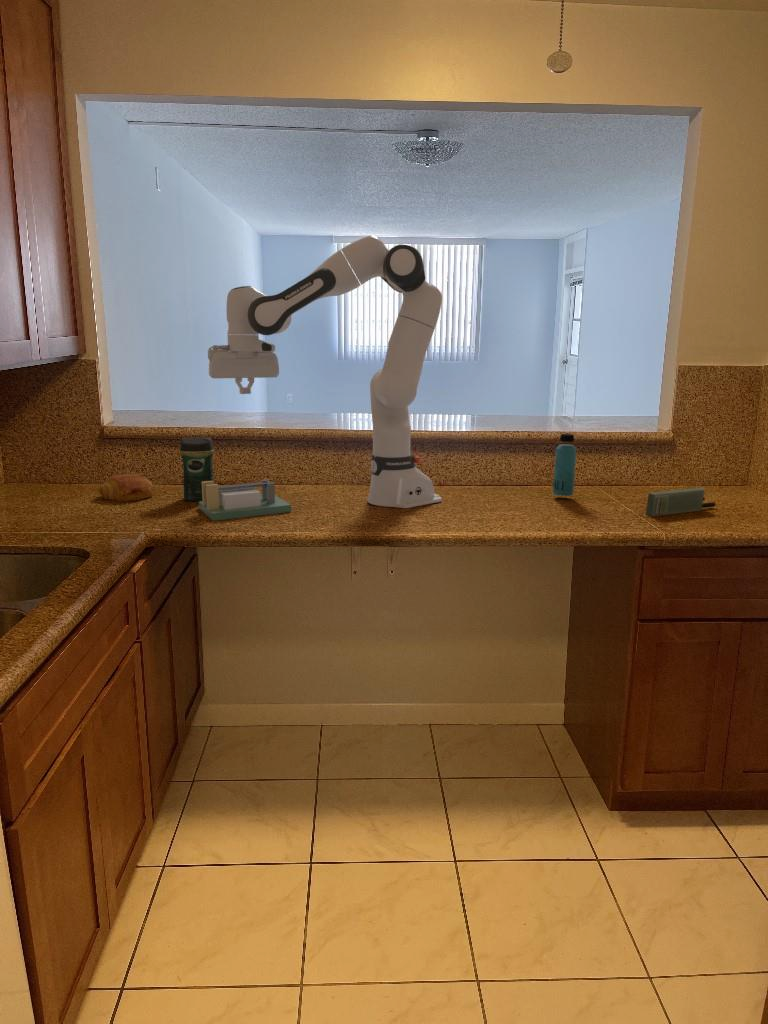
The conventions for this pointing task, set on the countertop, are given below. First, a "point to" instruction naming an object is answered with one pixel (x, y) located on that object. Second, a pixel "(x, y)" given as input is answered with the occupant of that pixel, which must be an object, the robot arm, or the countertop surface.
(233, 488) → the retention strap
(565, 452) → the beverage bottle
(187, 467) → the coffee jar
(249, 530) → the countertop surface
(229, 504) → the board
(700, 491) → the handheld radio
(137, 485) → the croissant
